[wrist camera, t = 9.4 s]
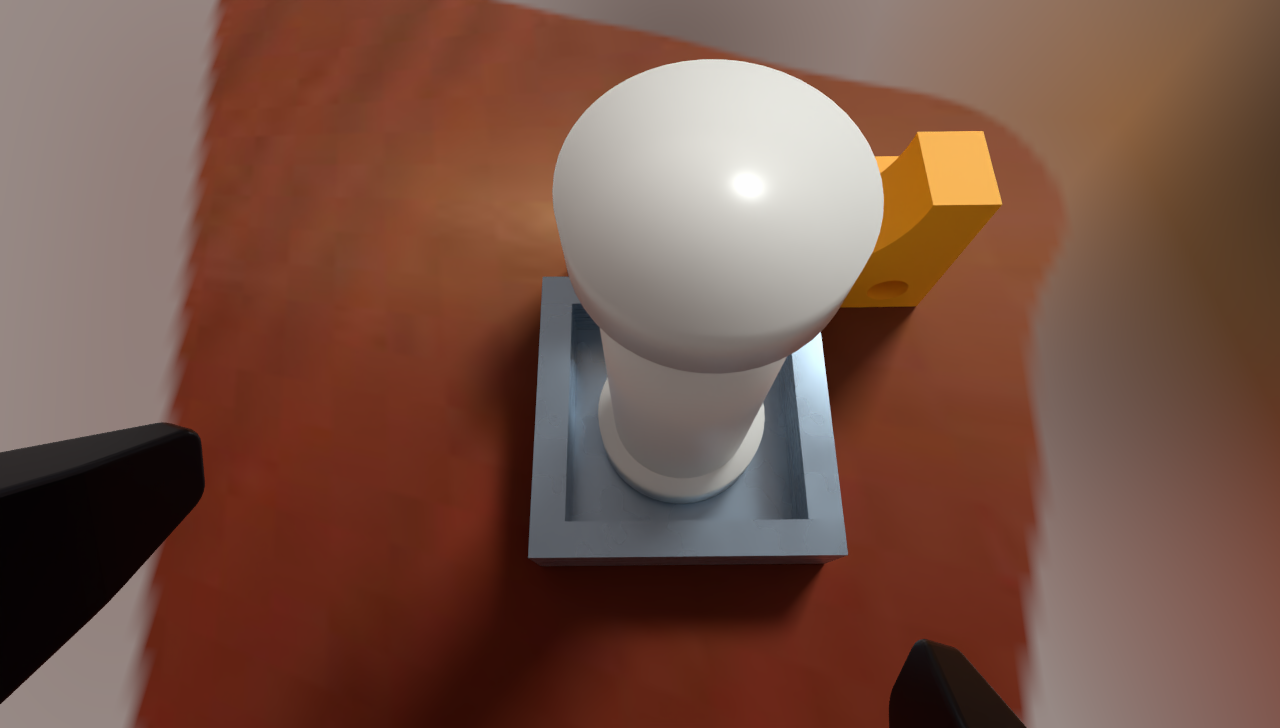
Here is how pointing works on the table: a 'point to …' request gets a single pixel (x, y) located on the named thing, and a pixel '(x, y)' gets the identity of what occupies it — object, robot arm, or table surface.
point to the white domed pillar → (708, 255)
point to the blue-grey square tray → (660, 531)
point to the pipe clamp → (926, 216)
